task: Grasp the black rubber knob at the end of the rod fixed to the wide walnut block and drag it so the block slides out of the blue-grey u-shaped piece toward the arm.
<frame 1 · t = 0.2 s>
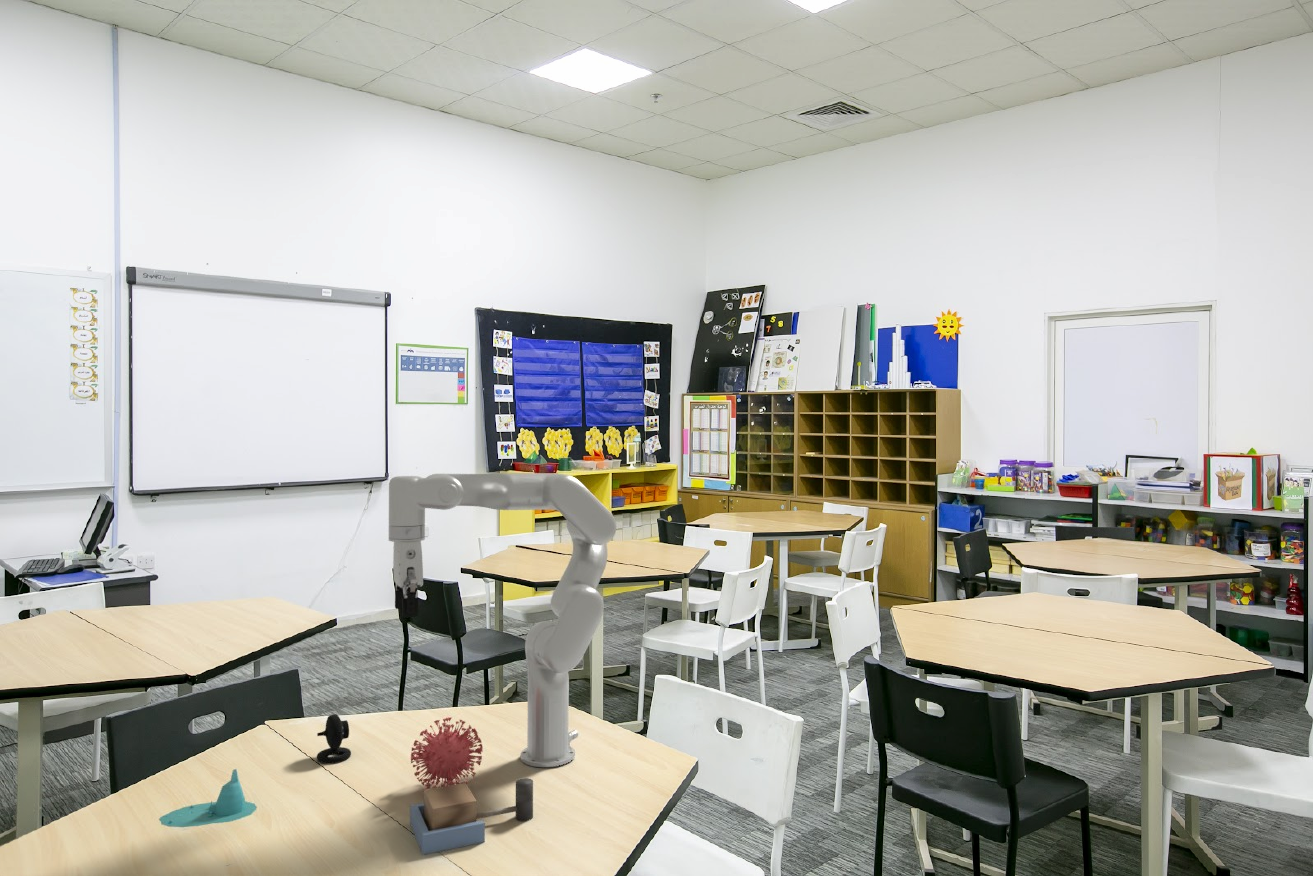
hand: (406, 612, 181), 37 cm above the table, tool pointing down, fingers open, 9 cm apart
virus model: (446, 790, 178), on the table
tether block: (449, 832, 159), on the table
webcam: (334, 758, 195), on the table
blue-grey u-shaped piece: (449, 832, 159), on the table
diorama: (208, 816, 167), on the table
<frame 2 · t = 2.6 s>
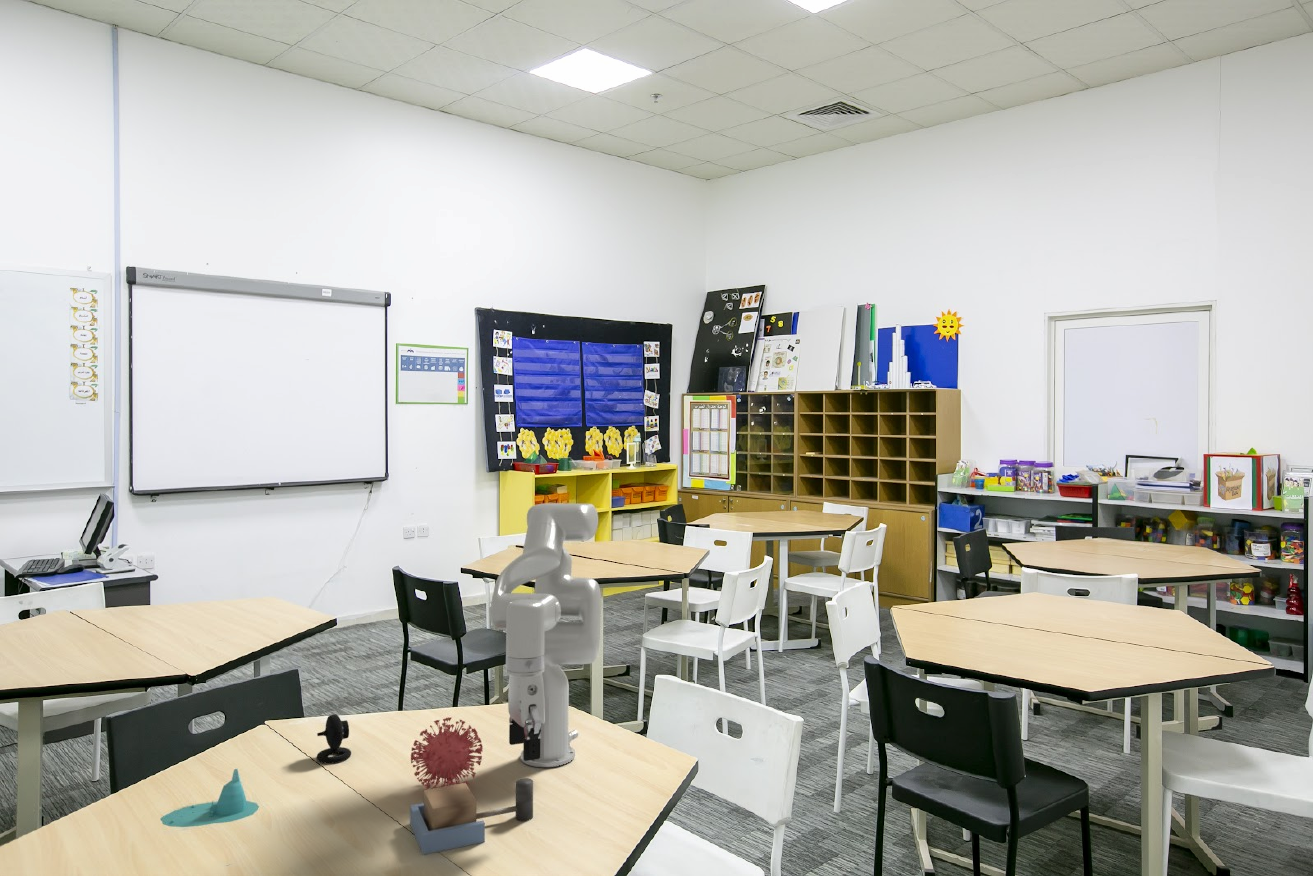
hand: (524, 751, 165), 13 cm above the table, tool pointing down, fingers open, 9 cm apart
nothing on the table moved.
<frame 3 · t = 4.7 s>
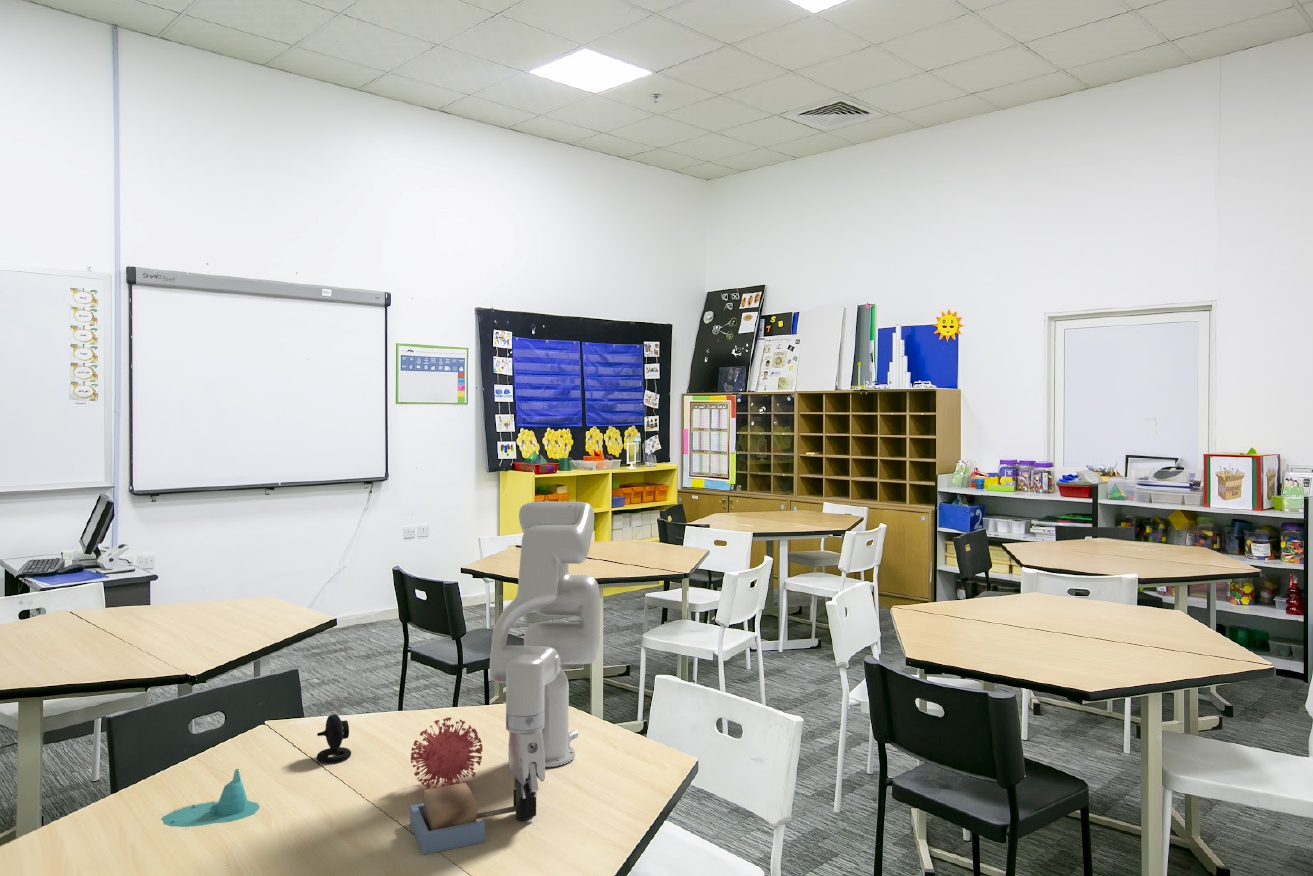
hand: (524, 811, 166), 1 cm above the table, tool pointing down, fingers closed on tether block, 3 cm apart
tether block: (449, 832, 159), on the table, touching gripper
everything else where it was.
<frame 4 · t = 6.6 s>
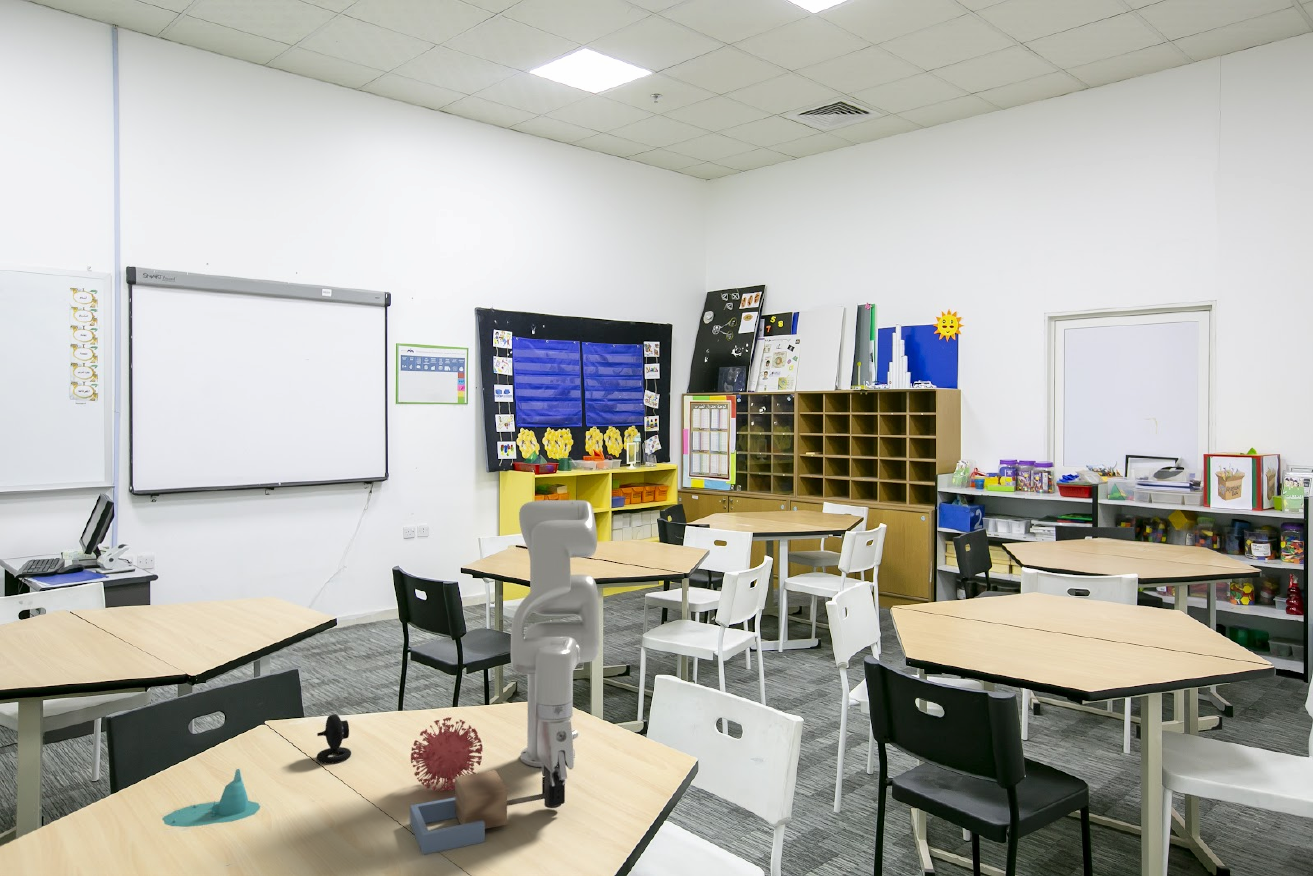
hand: (553, 799, 169), 2 cm above the table, tool pointing down, fingers closed on tether block, 3 cm apart
tether block: (480, 818, 162), point 1 cm above the table, touching gripper
everything else where it was.
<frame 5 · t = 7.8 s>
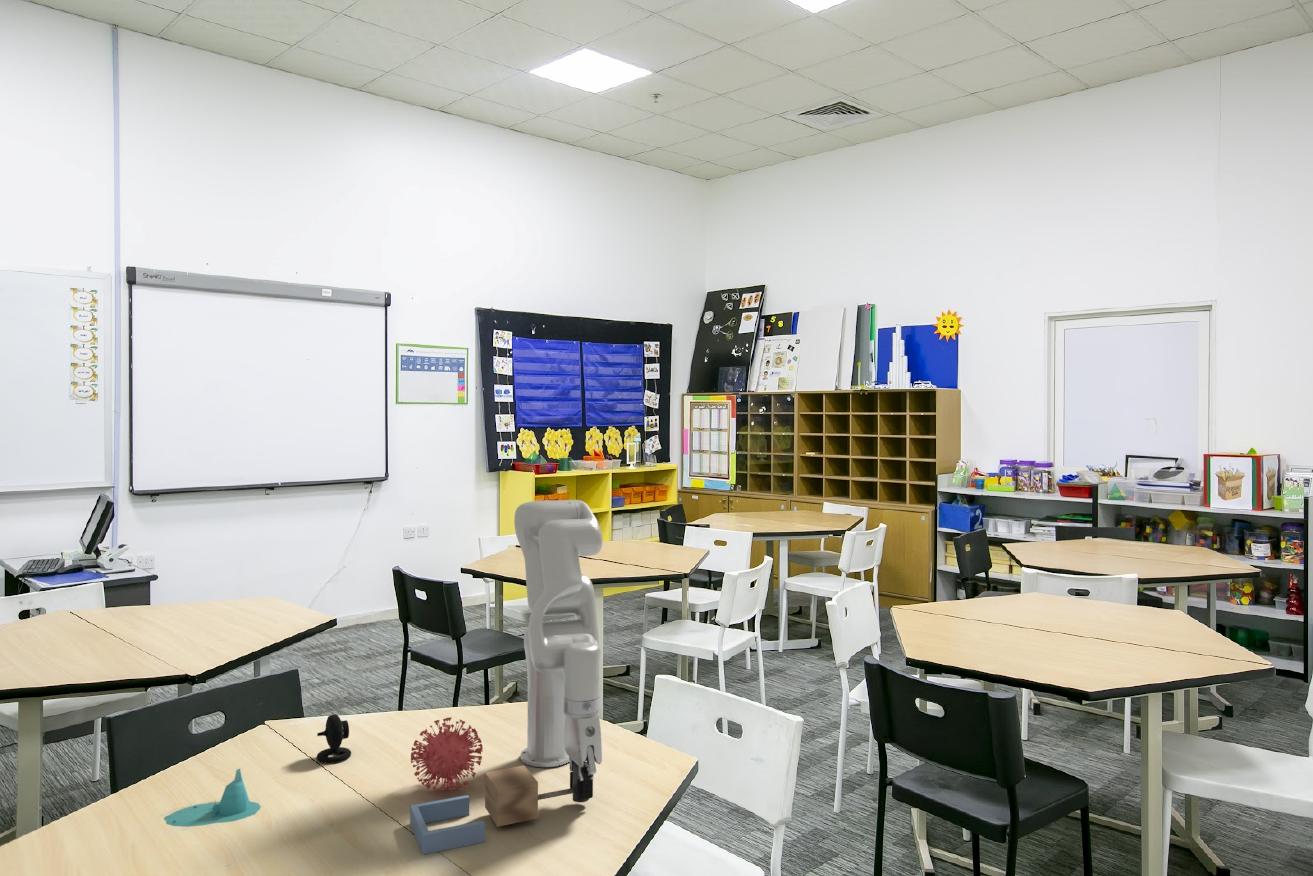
hand: (581, 793, 171), 2 cm above the table, tool pointing down, fingers closed on tether block, 3 cm apart
tether block: (511, 812, 165), point 1 cm above the table, touching gripper
everything else where it was.
when the fingers open (2 cm above the table, at t = 8.8 s): tether block drops 1 cm, on the table.
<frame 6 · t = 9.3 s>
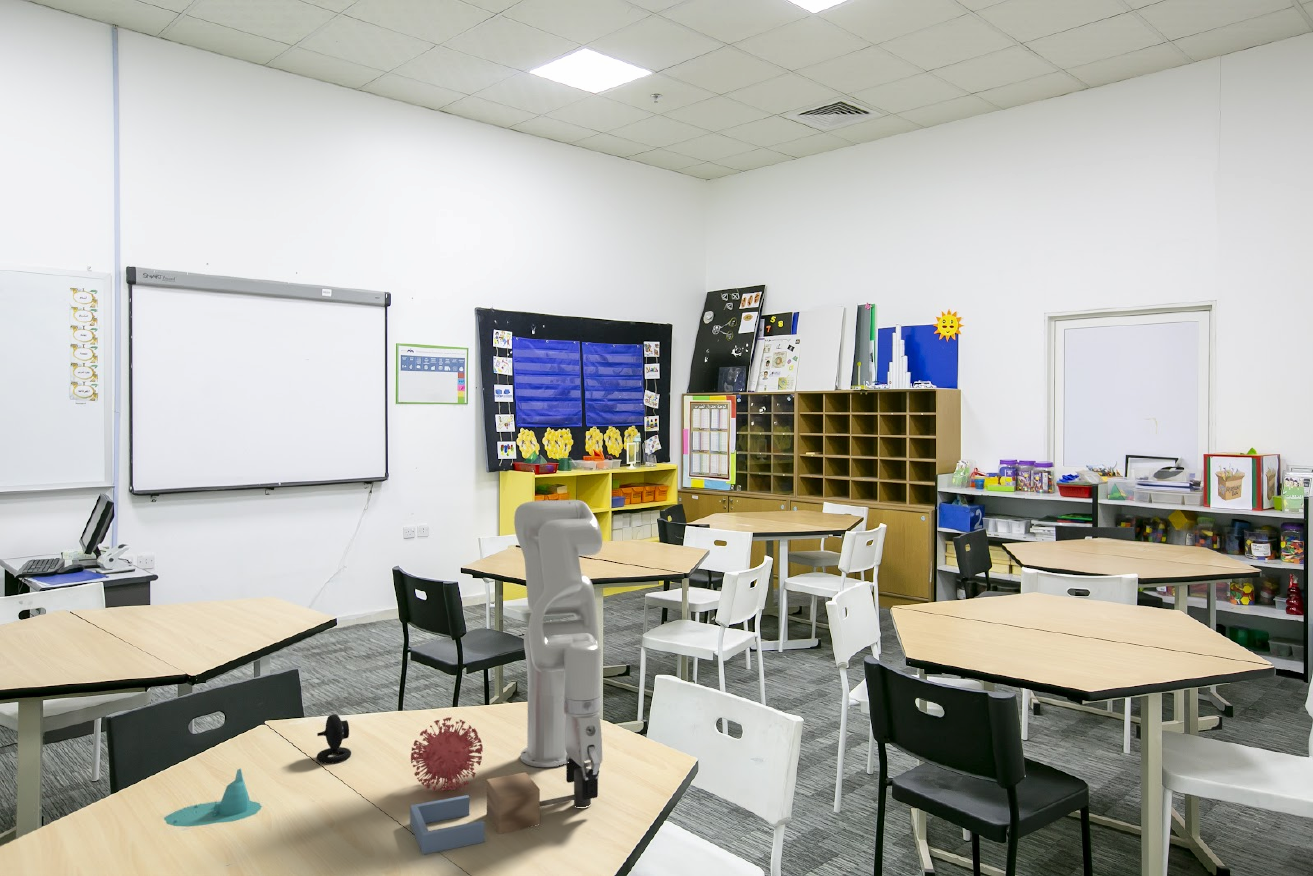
hand: (581, 789, 171), 3 cm above the table, tool pointing down, fingers open, 8 cm apart
tether block: (512, 819, 165), on the table
everything else where it was.
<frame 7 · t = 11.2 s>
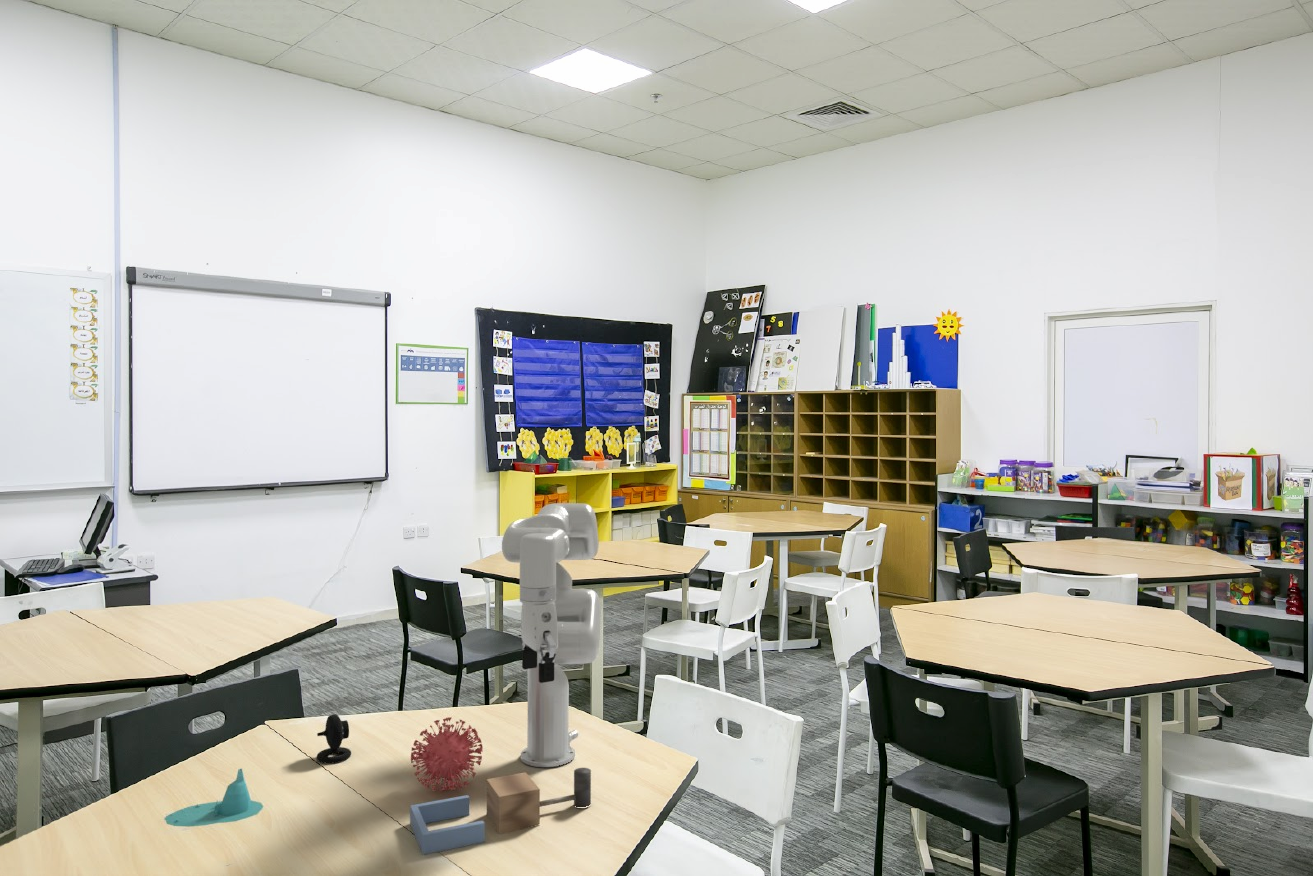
hand: (537, 674, 175), 25 cm above the table, tool pointing down, fingers open, 9 cm apart
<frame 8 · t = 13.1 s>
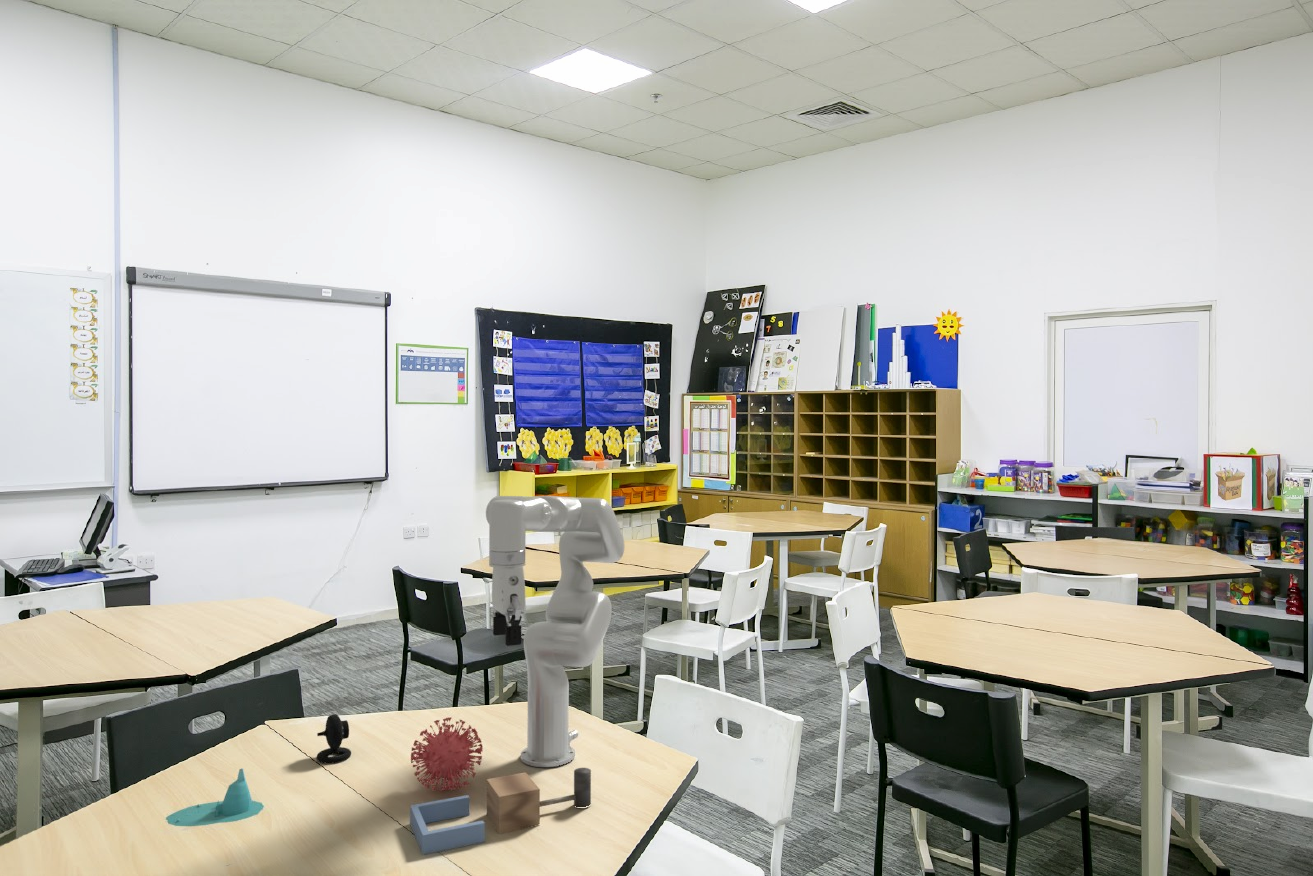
hand: (506, 639, 177), 32 cm above the table, tool pointing down, fingers open, 9 cm apart
at the end: tether block moved 12.3 cm from its start; tether block inside the target area (1.5 cm from its centre), on the table; tether block tilted 0° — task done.
